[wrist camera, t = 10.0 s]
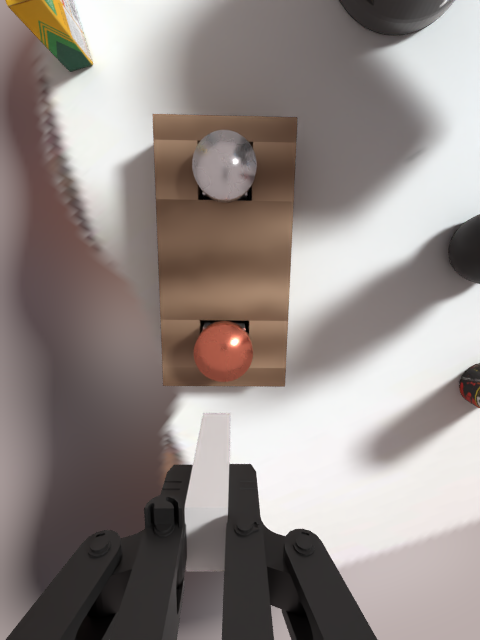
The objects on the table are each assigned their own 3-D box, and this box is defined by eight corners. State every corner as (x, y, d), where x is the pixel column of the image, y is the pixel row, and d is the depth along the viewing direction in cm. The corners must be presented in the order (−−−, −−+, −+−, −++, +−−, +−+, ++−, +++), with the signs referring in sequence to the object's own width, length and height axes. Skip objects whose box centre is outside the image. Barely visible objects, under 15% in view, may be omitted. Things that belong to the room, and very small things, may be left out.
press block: (165, 136, 36) (152, 114, 31) (287, 138, 37) (297, 117, 31) (173, 367, 42) (163, 385, 36) (277, 367, 43) (284, 386, 37)
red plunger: (200, 311, 39) (193, 324, 31) (250, 311, 39) (253, 325, 32) (201, 357, 40) (194, 381, 33) (249, 358, 40) (252, 382, 33)
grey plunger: (200, 154, 36) (191, 129, 29) (252, 155, 36) (257, 130, 29) (200, 209, 37) (192, 198, 30) (251, 210, 38) (255, 199, 30)
